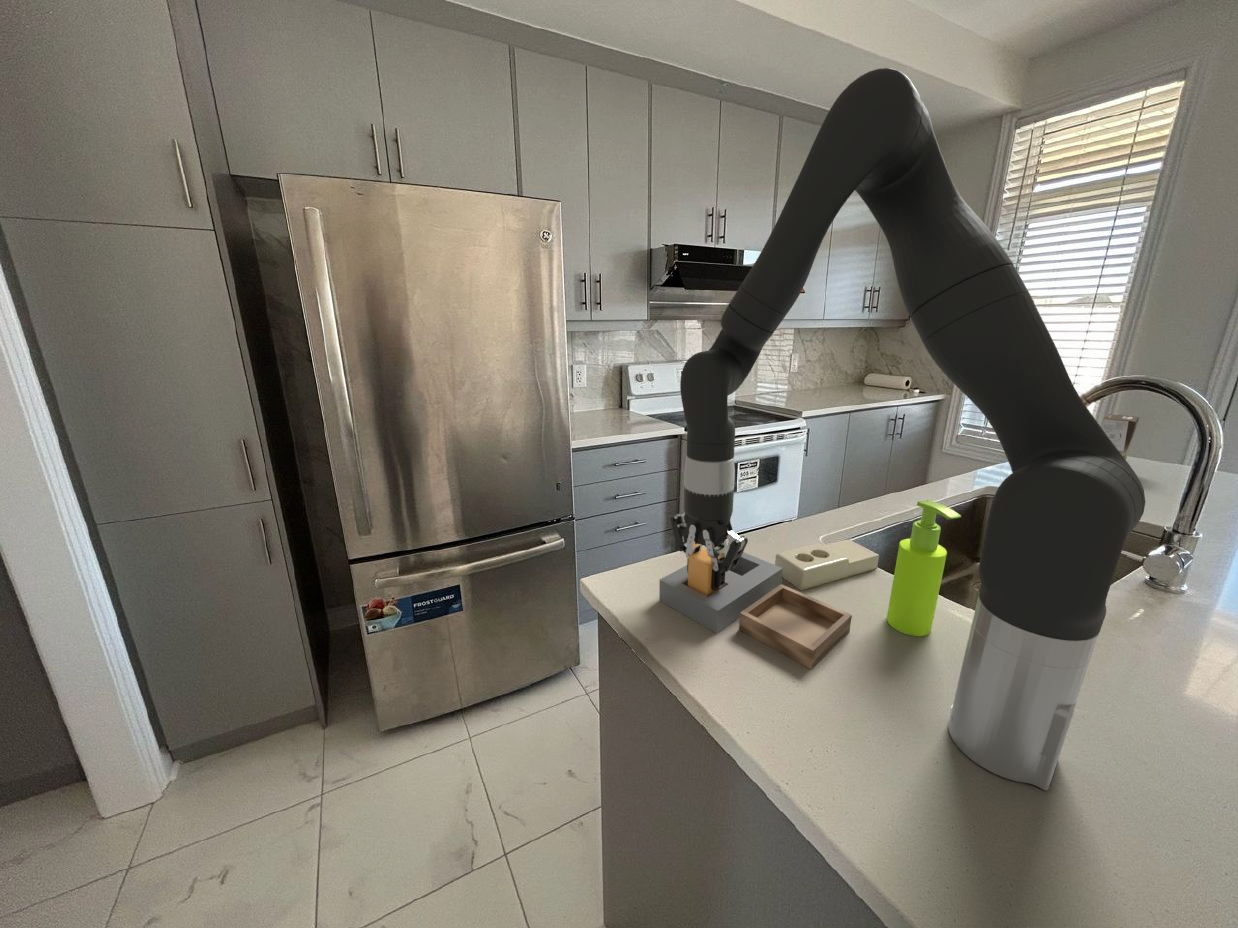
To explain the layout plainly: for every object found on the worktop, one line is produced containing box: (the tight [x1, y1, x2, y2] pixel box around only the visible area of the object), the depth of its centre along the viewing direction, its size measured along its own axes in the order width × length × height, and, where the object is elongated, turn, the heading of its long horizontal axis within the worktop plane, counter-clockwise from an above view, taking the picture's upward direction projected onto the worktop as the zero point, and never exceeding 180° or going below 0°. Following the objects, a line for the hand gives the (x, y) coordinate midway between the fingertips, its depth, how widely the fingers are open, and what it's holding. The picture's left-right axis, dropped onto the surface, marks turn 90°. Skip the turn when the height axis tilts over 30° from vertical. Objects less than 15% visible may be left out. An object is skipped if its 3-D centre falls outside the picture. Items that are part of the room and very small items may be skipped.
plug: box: [688, 547, 723, 597], centre depth 78 cm, size 4×4×9 cm
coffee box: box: [1101, 413, 1140, 461], centre depth 135 cm, size 9×6×16 cm
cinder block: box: [658, 547, 783, 634], centre depth 81 cm, size 12×18×4 cm, turn 131°
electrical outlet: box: [774, 539, 880, 591], centre depth 89 cm, size 7×4×18 cm
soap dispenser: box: [886, 500, 962, 637], centre depth 70 cm, size 6×7×20 cm
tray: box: [738, 583, 853, 670], centre depth 72 cm, size 12×12×3 cm
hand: (705, 582), depth 78 cm, fingers closed on plug, 4 cm apart
